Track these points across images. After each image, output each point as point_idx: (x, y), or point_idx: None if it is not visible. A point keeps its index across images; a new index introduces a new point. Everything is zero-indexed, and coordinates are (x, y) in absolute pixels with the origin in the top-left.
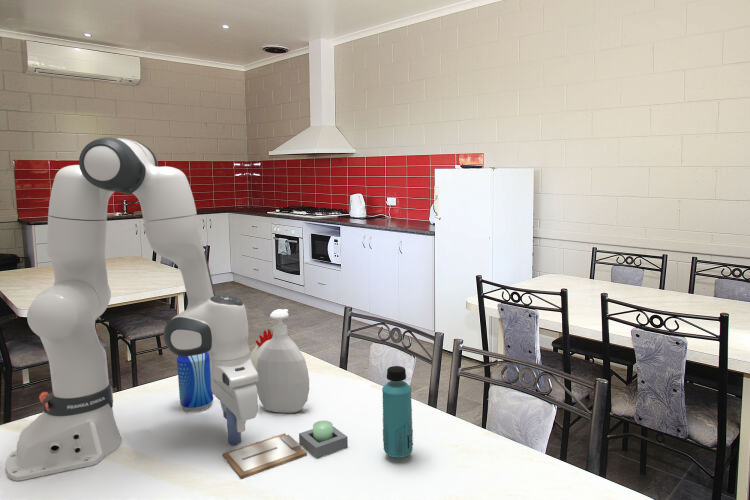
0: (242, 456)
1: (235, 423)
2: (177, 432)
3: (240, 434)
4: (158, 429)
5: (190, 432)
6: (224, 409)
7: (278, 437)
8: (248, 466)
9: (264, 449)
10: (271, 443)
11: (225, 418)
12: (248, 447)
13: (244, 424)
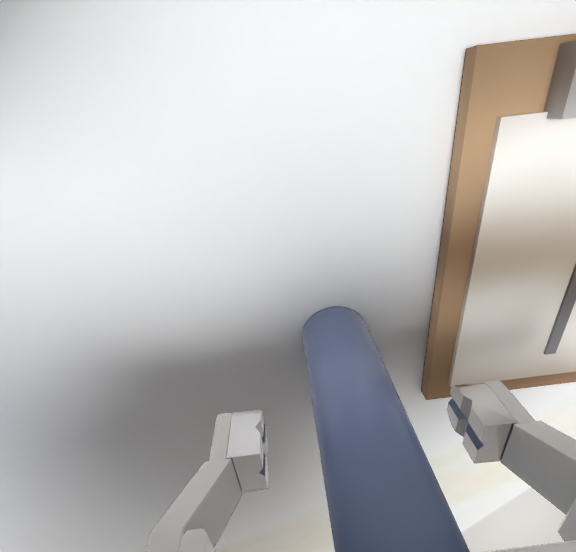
0: (524, 348)
1: (481, 462)
2: (127, 482)
3: (367, 338)
4: (77, 519)
5: (146, 452)
6: (231, 503)
7: (509, 122)
8: None
9: (561, 249)
10: (538, 193)
11: (267, 446)
12: (474, 311)
13: (526, 416)
